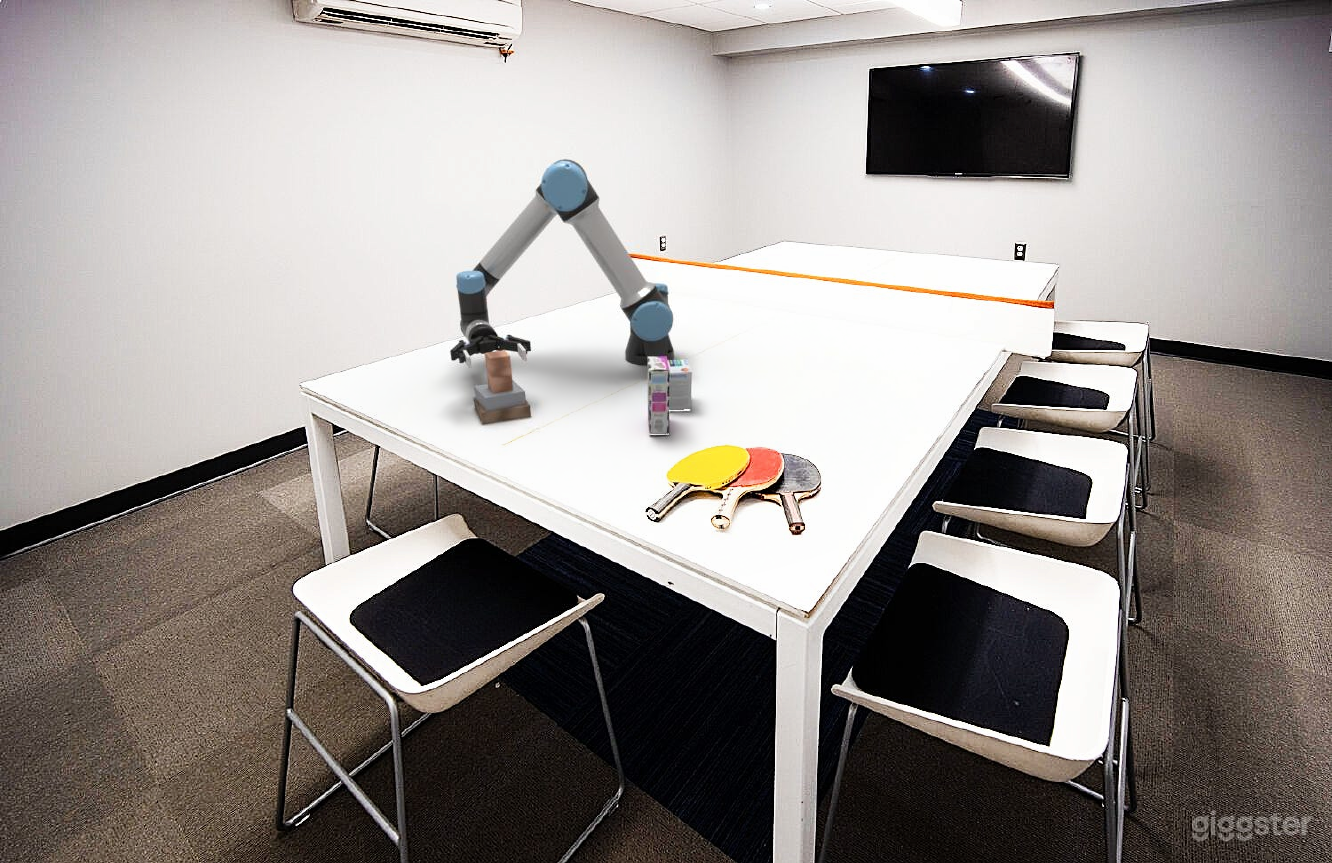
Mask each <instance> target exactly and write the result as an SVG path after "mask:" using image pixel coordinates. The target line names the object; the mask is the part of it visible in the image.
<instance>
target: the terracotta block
mask: <svg viewBox="0 0 1332 863" xmlns="http://www.w3.org/2000/svg"><path fill="white" fill-rule="evenodd" d="M484 358H485V359H484V360H485V368H486V378H487V379H486V380H487V384H488V387H489V389H490V390H491V391H492V392H493V393H499V392H505V391H511V390H513V382H512V380H513V373H512V361H511V355H510V354H509V353H508V352H507V350H503V351H496V350H494V351H492V352H488V353H485V354H484Z"/></svg>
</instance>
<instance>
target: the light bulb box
mask: <svg viewBox="0 0 1332 863" xmlns="http://www.w3.org/2000/svg"><path fill="white" fill-rule="evenodd" d="M668 366H669V370H670V373H669V374H670V387H669V410H684V409H691V410H692V381H693V379H692V378H693V376H692V374H693V372H692V369H691V365H690V363H689V360H688V359H686V358H685V359H673V360H668Z"/></svg>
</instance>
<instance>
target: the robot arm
mask: <svg viewBox="0 0 1332 863" xmlns="http://www.w3.org/2000/svg"><path fill="white" fill-rule="evenodd" d="M534 191H535V196H534V197H533V198H532V200H531V201H530V202H529V203H528V204H527V205H526V206H525V208H524V209H523V210H522V212H521V213H519V215H517V217H516V218H515V219H514V221H513V222H512V223H511V224H510V225H509V226H508V228H507V229H506V230H505V231H504V233H503V234H501V236H500V237H499V239H498V240H497V241H496V242H495V243H494V245H493V246H492V247H491V248H490V249H489V250H488V251H487V253H486V254H485V255H484V256H483V257H482V259H481V260H480V261H479V262H478V264H476V266H475V267H474V268H473V269H472V270H465V271H461V272H458V273H457V274H456V290H457V296H458V304H459V305H458V306H459V311H460V314H459V316H460V320H459V323H460V324H459V326H460V331H461V333H462V334H463V336H464V337H465V339H466V340H467V341H465V340H463V339H459V340H458V343H457V344H456V345H455V346H454V347H453V348H451V349H450V350H449V352H450V360H451V361H453V362H454V361H456V360H458V362H459V364H464V363H465V364H466V366H467V368H468V369H472V361H471V360H472V359H471V357H473V356H474V355H478V354H481V355H485V353H488V352H495V351H503V350H505V351H506V352H507V351H509V352H515V353H517V355H518V356H519V357H520V358H521V359H522V361H523V362H527V361H528V360H527V358H528V357H527V355H528V352H531V351H532V346H531V345H532V344H531V340H526V339H523V338H520V337H516V336H513V335H511V334H507V335H506V336H505V337H502V336H499V335H498V333H497V332H496V330H495V329H494V327H493V326H492V325H491V323H490V319H489V310H488V302H487V301H488V300H487V299H488V298H487V297H488V295H489V294H490V293H491V291H492V290H493V289H494V288H495V286H496V285H497V284H498V283H499V282H500V281H501V280H502V278H503V277H504V276H505V274H506V273H507V272H508V271H509V270H510V269H511V268H512V267H513V265H514V264H515V263H516V262H517V261H518V260H519V258H521V257H522V255H523V254H524V253H525V252H526V250H527V249H528V248H530V246H531V245H532V243H533V242H534V241H535V240H536V239H537V238H538V237H539V236H540V234H541V233H542V232H543V231H544V230H545V229H546V228H547V226H549V224H550V223H551V222H552V221H553V219H554V218H555V217H556V216H558V217H559V218H560V219H561V221H562V222H563V223H564V224H568V225H571V226H572V227H573V228H574V230H575V232H576V233H577V234H578V236H579V237H580V239H581V240H582V242H583V243H584V244H583V245H585V247H586V249H588V251H589V252H590V254H591V255H592V257H593V258H594V260H595V262H596V263H597V264H598V266H599V268H600V269H601V271H602V272H603V274H604V275H605V277H606V278H607V280H608V281H609V283H610V284H611V286H612V287H613V289H614V290H615V292H616V293H617V294H618V296H619V297H620V303H619V307H620V309H621V310H622V312H623V314H624V315H625V317H626V318H627V320H628V321H629V331H630V333H629V337H628V340H627V341H628V342H627V344H626V347H625V352H624V355H625V358H624V359H625V361H627V362H629V363H631V364H636V365H644V366H645V365H646V366H648V357H653V356H667V360H675V350H674V346H673V343H672V341H671V338H670V335H669V333H670V332H671V330H672V328H673V324H674V314H673V312H672V309H671V307H670V305H669V289H668V285H666V284H665V283H658V282H655V283H654V282H649V281H648V280H646V279H645V277H644V276H643V274H642V272H641V270H640V269H639V268H638V266H637V265H636V263H635V261H634V260H633V259H632V257H631V255H630V254H629V252H628V251H627V249H626V248H625V246H624V245H623V243H622V241H621V240H620V238H619V237H618V235H617V233H616V232H615V230H614V229H613V227H612V226H611V224H610V223H609V220H608V219H607V217H606V216H605V214H604V213H603V212H602V210H601V209H600V206H599V204H600V197H599V195H598V193H597V191H596V190H595V189H594V187H593V186H592V183H591V182H590V181H589V179H588V175H587V173H586V171H585V169H584V168H583V166H582V165H581V164H580V163H578V162H576V161H575V160H571V159H566V158H565V159H564V158H563V159H559V160H557V161H555V162H553V163H552V164H550V165H549V167H547V168H546V169H545V171H544V172H543V174H542V178H541V183H540V184H539V185H538V187H536V189H535V190H534Z"/></svg>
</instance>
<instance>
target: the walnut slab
mask: <svg viewBox="0 0 1332 863" xmlns="http://www.w3.org/2000/svg"><path fill="white" fill-rule="evenodd" d="M473 405H474V409H475V412H476V414H477V416H478V418H479V420H480V422H481V423H482V425H489V424H495V422H496V423H501V421H502V422H507V421H508V422H509V421H513V420H515V421H516V420H519V419H520V420H521V419H526V418H532V412H531V404H530V403H529V402H528V401H527V400H526V404H524V405H519V406H513V407H508V408H503V409H497V410H492V411H486V410H485V409H484V408H483V407H482V405H481V404H480V403H479V402H478V401H477V400H476V397H475V396H473Z"/></svg>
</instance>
